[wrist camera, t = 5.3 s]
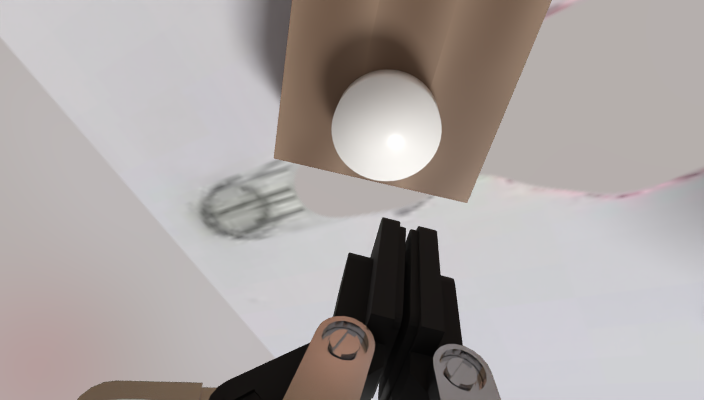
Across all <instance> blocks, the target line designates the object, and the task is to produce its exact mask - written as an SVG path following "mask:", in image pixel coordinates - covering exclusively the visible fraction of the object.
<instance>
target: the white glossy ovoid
mask: <svg viewBox="0 0 704 400" xmlns="http://www.w3.org/2000/svg"><path fill="white" fill-rule="evenodd" d="M441 133H442V126H441V119H440V114H439V110H438V106H437V103H436V100H435V98H434V96H433V94H432V93H431V91H430V90H429V89H428V88H427V86H426V85H425V84H424V83H423V82H421V81H420V80H419V79H417V78H416V77H414V76H412V75H410V74H408V73H406V72H402V71H398V70H388V69H385V70H377V71H373V72H370V73H367V74H365V75H363V76H361V77H359V78H358V79H357V80H355V81H354V82H353V83H352V84H351V85H350V86H349V87H348V88H347V89H346V90H345V92H344V93H343V95H342V97H341V98H340V101H339V103H338V105H337V108H336V110H335V113H334V116H333V120H332V139H333V143H334V146H335V149H336V151H337V153H338V155H339V156H340V158H341V159H342V160H343V162H344V163H345V164H346V165H347V166H348V167H349V168H350V169H352V170H353V171H354V172H356V173H358V174H359V175H361V176H364V177H366V178H369V179H372V180H377V181H396V180H401V179H404V178H407V177H409V176H412V175H414V174H415V173H417V172H419V171H420V170H421V169H423V168H424V167H425V166H426V165H427V164H428V163H429V162H430V160H431V159H432V158H433V156H434V155H435V153H436V151H437V149H438V146H439V143H440V140H441Z"/></svg>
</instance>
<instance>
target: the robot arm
mask: <svg viewBox="0 0 704 400" xmlns="http://www.w3.org/2000/svg"><path fill="white" fill-rule="evenodd" d="M405 239H406V228H404V227H400V221H396V220H392V219H388V218H384V217H383V218H382V220H381V223H380V226H379V230H378V233H377V237H376V240H375V243H374V247H373V250H372V254H371V257H370V258H369V257H365V256H361V255H357V254H353V253H349V254H348V258H347V261H346V265H345V269H344V273H343V277H342V281H341V285H340V289H339V293H338V298H337V302H336V306H335V311H334V315H333V317H332V318H328V319H327V320H325V321H323V322H322V323H321V324H320V325H319V327H318V328H317V330H316V332H315V334H314V336H313V338H312V340H311V342H310V343H308V344H306V345H304V346H302V347H299V348H297V349H295V350H293V351H291V352H289V353H286V354H284V355H282V356H280V357H278V358H276V359H274V360H271V361H269V362H267V363H265V364H263V365H260V366H258V367H256V368H254V369H252V370H250V371H247V372H245V373H243V374H241V375H239V376H237V377H234V378H232V379H230V380H228V381H226V382H225V383H223V384H222V385H220V386H218V387H217V388H208V387H203V383H191V382H149V381H109V382H103V383H101V384H98V385H96V386H94V387H91V388H90V389H89V390H87V391H86V392H85V393H83V394H82V395H81V396H80V397H79V398H78V399H77V400H371V398H373V397H374V394H375V392H376V389H377V386H378V384H379V392H378V399H379V400H501V398H500V395H499V392H498V389H497V386H496V384H495V381H494V378H493V375H492V372H491V370H490V368H489V366H488V364H487V363H486V362H485V361H484V360H483V358H482V357H481V356H480V355H478V354H477V353H476V352H474V351H473V350H471V349H469V348H467V347H465V346H463V345H462V337H461V329H460V321H459V312H458V304H457V296H456V288H455V282H454V279H453V278H449V277H445V276H441V275H440V263H439V251H438V239H437V231H436V230H432V229H428V228H424V227H420V226H419V227H418V228H417V230H412V229H411V230H410V231H409V234H408V237H407V240H406V243H405Z"/></svg>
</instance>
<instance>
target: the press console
mask: <svg viewBox="0 0 704 400" xmlns="http://www.w3.org/2000/svg"><path fill="white" fill-rule="evenodd" d="M551 1H552V0H292V5H291V13H290V22H289V31H288V39H287V48H286V57H285V65H284V74H283V83H282V91H281V100H280V109H279V117H278V126H277V135H276V144H275V152H274V158H275V159H279V160H283V161H288V162H292V163H296V164H301V165H305V166H309V167H314V168H318V169H322V170H327V171H331V172H335V173H339V174H344V175H349V176H353V177H357V178H361V179H366V180H370V181H374V182H379V183H383V184H388V185H391V186H396V187H400V188H404V189H409V190H413V191H418V192H422V193H426V194H430V195H435V196H439V197H443V198H448V199H452V200H456V201H461V202H465V203H467V202H468V199H469V197H470V195H471V192H472V190H473V187H474V185H475V183H476V180H477V178H478V176H479V173H480V171H481V168H482V166H483V164H484V161H485V159H486V156H487V154H488V152H489V149H490V146H491V144H492V142H493V139H494V137H495V135H496V132H497V130H498V128H499V125H500V123H501V120H502V118H503V116H504V113H505V111H506V108H507V106H508V104H509V101H510V99H511V96H512V94H513V92H514V89H515V87H516V84H517V82H518V80H519V77H520V75H521V72H522V70H523V68H524V65H525V63H526V60H527V58H528V56H529V53H530V51H531V49H532V46H533V44H534V41H535V39H536V37H537V34H538V31H539V29H540V27H541V25H542V22H543V20H544V17H545V15H546V13H547V10H548V8H549V5H550V3H551ZM385 69H388V70H398V71H402V72H406V73H408V74H410V75H412V76H414V77H416V78H417V79H419V80H420V81H421V82H423V83H424V84H425V85H426V86H427V88H428V89H429V90H430V91H431V93H432V94H433V96H434V98H435V100H436V103H437V106H438V110H439V114H440V119H441V126H442V133H441V140H440V143H439V146H438V149H437V151H436V153H435V155H434V156H433V158H432V159H431V160H430V162H429V163H428V164H427V165H426V166H425V167H424V168H423V169H421V170H420V171H419V172H417V173H415V174H414V175H412V176H409V177H407V178H404V179H401V180H396V181H377V180H372V179H369V178H366V177H364V176H361V175H359V174H358V173H356V172H354V171H353V170H352V169H350V168H349V167H348V166H347V165H346V164H345V163H344V162H343V160H342V159H341V158H340V156H339V155H338V153H337V151H336V149H335V146H334V143H333V139H332V120H333V116H334V113H335V110H336V108H337V105H338V103H339V101H340V98H341V97H342V95H343V93H344V92H345V90H346V89H347V88H348V87H349V86H350V85H351V84H352V83H353V82H354V81H355V80H357V79H358V78H359V77H361V76H363V75H365V74H367V73H370V72H373V71H377V70H385Z"/></svg>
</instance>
